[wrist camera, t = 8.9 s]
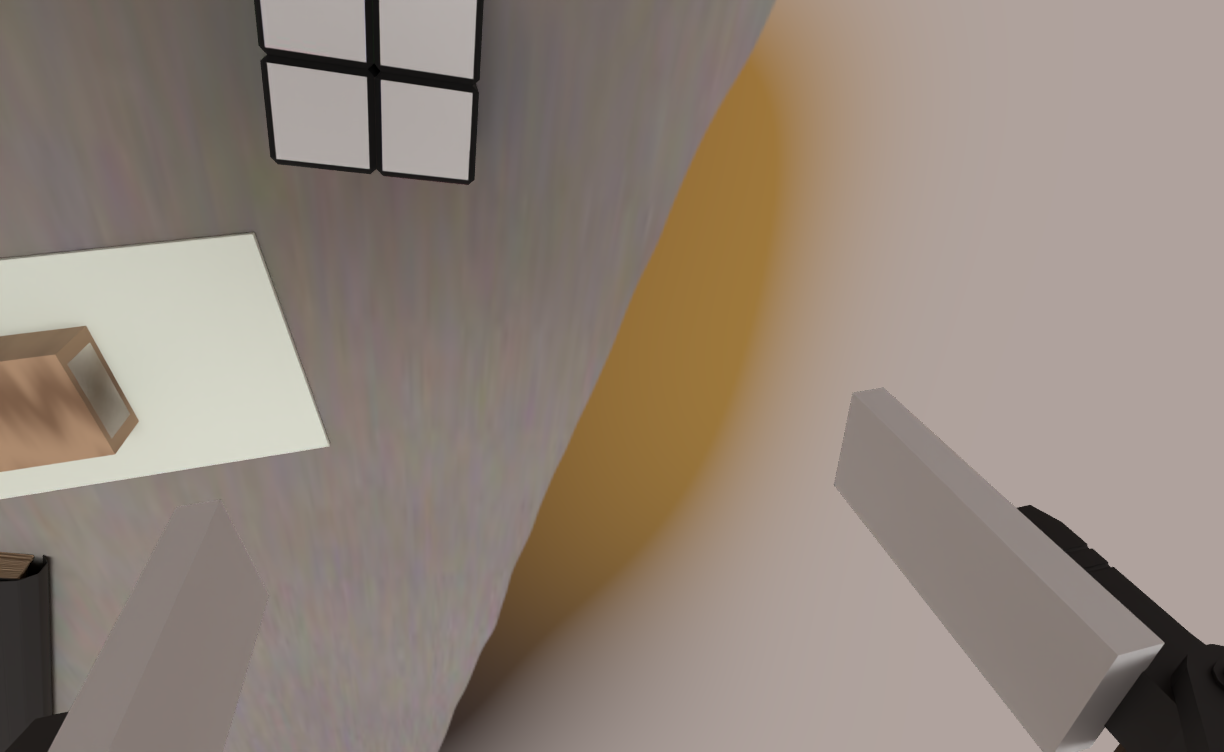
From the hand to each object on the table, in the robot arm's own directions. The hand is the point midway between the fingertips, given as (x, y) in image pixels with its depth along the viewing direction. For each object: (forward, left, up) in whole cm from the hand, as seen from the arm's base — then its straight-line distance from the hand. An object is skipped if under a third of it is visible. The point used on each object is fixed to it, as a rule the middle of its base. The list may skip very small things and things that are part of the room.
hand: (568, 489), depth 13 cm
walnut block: (+13, -28, -32) cm, 45 cm away
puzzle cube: (-6, -5, -35) cm, 36 cm away
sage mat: (+13, -31, -35) cm, 48 cm away
